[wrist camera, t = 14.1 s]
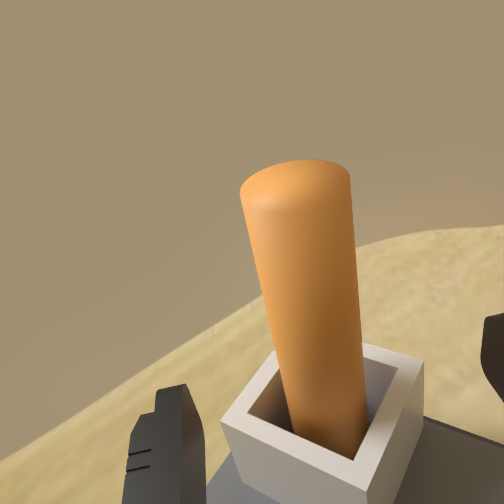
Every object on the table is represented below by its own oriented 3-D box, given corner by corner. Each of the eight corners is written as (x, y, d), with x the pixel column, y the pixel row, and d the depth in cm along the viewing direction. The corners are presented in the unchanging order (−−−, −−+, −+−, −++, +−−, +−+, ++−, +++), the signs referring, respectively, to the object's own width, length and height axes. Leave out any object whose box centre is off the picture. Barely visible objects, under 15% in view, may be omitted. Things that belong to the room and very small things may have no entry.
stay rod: (287, 470, 21) (218, 203, 13) (319, 415, 23) (274, 156, 15) (353, 503, 19) (318, 219, 11) (381, 441, 21) (367, 163, 14)
